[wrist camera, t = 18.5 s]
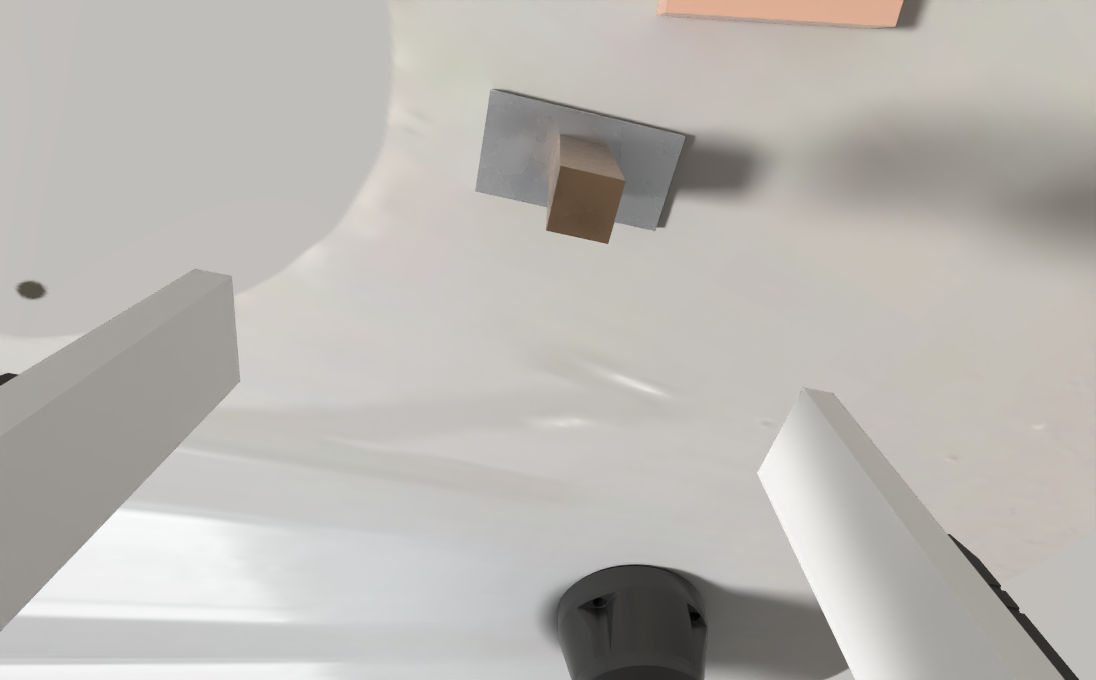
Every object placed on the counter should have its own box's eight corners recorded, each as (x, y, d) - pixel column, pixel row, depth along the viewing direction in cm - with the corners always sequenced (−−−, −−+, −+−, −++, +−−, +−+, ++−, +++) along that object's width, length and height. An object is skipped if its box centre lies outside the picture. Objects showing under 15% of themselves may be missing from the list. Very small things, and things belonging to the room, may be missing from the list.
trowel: (682, 134, 33) (733, 169, 23) (652, 226, 36) (687, 291, 26) (492, 89, 32) (464, 105, 22) (477, 187, 35) (446, 240, 25)
